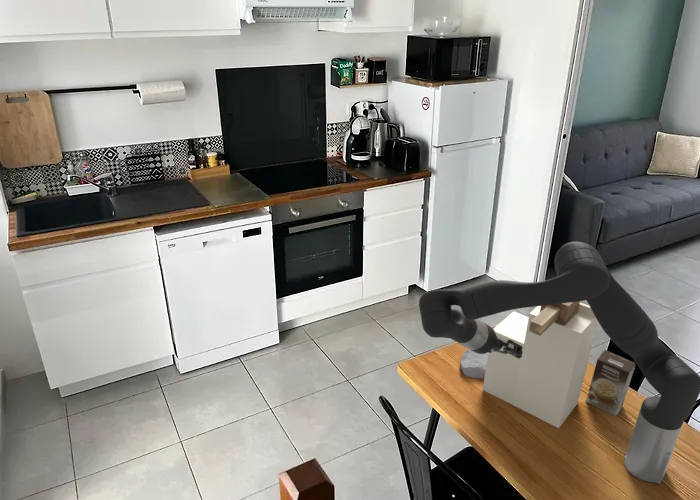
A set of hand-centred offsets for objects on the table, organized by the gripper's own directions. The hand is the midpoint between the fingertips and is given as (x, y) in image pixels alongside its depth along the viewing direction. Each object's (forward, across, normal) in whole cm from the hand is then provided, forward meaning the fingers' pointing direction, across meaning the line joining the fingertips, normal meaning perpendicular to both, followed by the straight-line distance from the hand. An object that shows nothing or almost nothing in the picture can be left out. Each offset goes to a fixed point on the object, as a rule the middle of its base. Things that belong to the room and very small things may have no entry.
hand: (505, 351), depth 142 cm
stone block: (+27, +25, +2) cm, 37 cm away
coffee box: (+43, -11, +3) cm, 44 cm away
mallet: (+5, -8, -11) cm, 14 cm away
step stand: (+30, +6, +7) cm, 31 cm away
